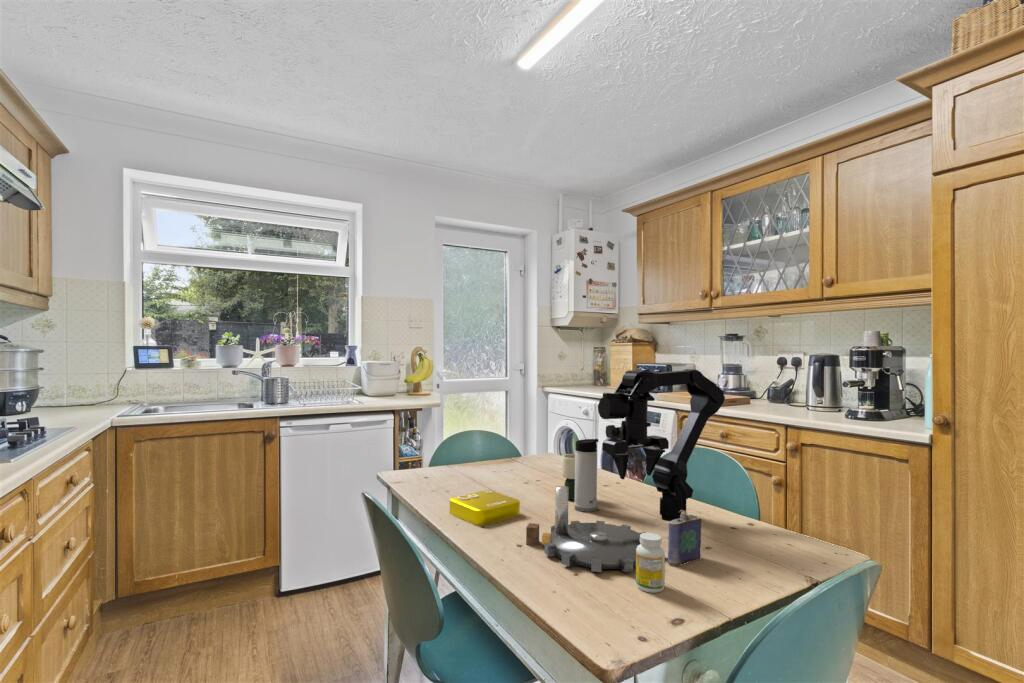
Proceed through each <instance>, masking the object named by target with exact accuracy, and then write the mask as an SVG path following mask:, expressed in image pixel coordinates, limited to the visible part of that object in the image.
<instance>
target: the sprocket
mask: <svg viewBox="0 0 1024 683" xmlns="http://www.w3.org/2000/svg"><path fill="white" fill-rule="evenodd" d="M568 489H569V488H568V487H567V486H564V485H556V486H555V507H554V508H555V512H554V513H555V515H554V516H555V517H554V521H555V522H554V525H552V526H550V532H543V533H542V535H541V544H542V545H543V546H544V549H543V550H544V551H543V553H544V554H545V555H547V556H548V557H551V556H556V557H558V558H559V559H561V565H564V566H567V567H571V566H573V565H577V566H581V567H587V568H590V569H591V572H594V573H595V572H596V573H602V570H603V569H604V570H606V569H607V570H609V569H611V570H613V569H616V570H617V569H620V570H621V571H622V572H623V573H628V572H634V567H636V548H637V546H638V545H640V544H641V543H640V534H642V533H647V532H646V531H644V532H638V531H636V530H633V529H631V528H632V527H631V526H630V525H628V524H621V525H616V524H612V523H611V524H609V523H606V521H604V520H596V522H581V521H580V520H572V521H570V523H569V499H568Z"/></svg>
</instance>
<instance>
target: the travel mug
mask: <svg viewBox="0 0 1024 683" xmlns="http://www.w3.org/2000/svg"><path fill="white" fill-rule="evenodd" d="M599 442H600V441H599V439H598V438H585V439H578V440H576V441H575V444H574V445H575V451H574V452H575V453H574V454H575V499H574V509H575V510H576V511H578V510H579V511H578V512H582V511H586V512H585V513H590V512H589V511H592V512H595V511H596V510H597V498H598V497H597V494H598V493H597V492H598V491H597V490H598V489H597V488H598V487H597V486H598V484H597V483H598V445H597V444H598V443H599Z"/></svg>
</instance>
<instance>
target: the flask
mask: <svg viewBox="0 0 1024 683" xmlns="http://www.w3.org/2000/svg"><path fill="white" fill-rule="evenodd" d="M681 511H683V512H681ZM679 512H681V515H680V518H678V519H675V520H668V522H667V523H668V535H667V536H668V537H667V539H668V548H667V563H669V564H670V565H669V566H672V567H680V565H681V564H682V565H685V564H684V563H687V562H689V563H690V561H693V562H695V561H694V560H696V561H700V560H701V545H702V544H701V543H702V538H701V537H702V535H701V534H702V518H701V517H700V516H697V515H694V514H689V515H687V514H688V512H687V510H686V511H684V510H680V511H679ZM699 559H700V560H699ZM687 564H688V563H687ZM678 565H679V566H678ZM682 565H681V566H682Z"/></svg>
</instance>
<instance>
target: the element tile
mask: <svg viewBox="0 0 1024 683" xmlns="http://www.w3.org/2000/svg"><path fill="white" fill-rule="evenodd" d="M520 504H521V501H520V500H519V499H518V498H513V497H511V496H508V495H505V494H503V493H500V492H496V491H493V490H490V489H485V490H480V491H477V492H471V493H466V494H461V495H458V496H452V497H451V498H449V505H448V506H449V507H448V508H449V511H448V512H449V514H450V515H452V516H453V517H456V518H458V519H460V520H463V521H465V522H468V523H470V524H473V525H475V526H481V527H482V526H487V525H491V524H494V523H499V522H501V520H503V521H505V519H506V520H509V518H510V519H513V518H512V517H514V518H517V517H520V514H521V512H520V510H521V505H520ZM516 516H517V517H516ZM498 521H499V522H498Z"/></svg>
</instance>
